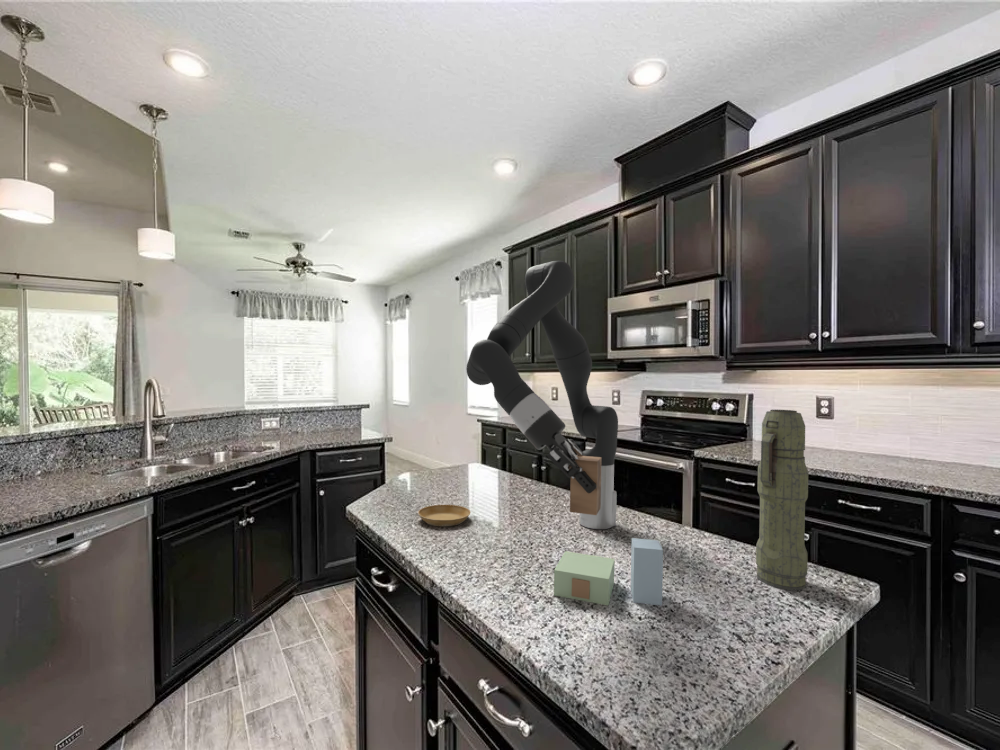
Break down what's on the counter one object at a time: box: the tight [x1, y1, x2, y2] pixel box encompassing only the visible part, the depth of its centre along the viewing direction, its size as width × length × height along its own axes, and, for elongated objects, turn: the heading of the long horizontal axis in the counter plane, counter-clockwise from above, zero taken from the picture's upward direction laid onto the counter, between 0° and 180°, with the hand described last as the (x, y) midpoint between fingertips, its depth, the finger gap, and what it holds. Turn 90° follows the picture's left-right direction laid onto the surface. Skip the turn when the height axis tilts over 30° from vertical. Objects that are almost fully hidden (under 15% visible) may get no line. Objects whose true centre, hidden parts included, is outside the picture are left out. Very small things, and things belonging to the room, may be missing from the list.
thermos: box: [755, 409, 809, 591], centre depth 93 cm, size 9×12×35 cm
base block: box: [553, 550, 615, 606], centre depth 87 cm, size 10×10×5 cm
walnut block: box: [569, 455, 602, 515], centre depth 87 cm, size 5×5×10 cm
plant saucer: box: [417, 504, 471, 527], centre depth 128 cm, size 15×15×3 cm
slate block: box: [630, 537, 664, 606], centre depth 84 cm, size 5×5×10 cm
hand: (595, 486), depth 86 cm, fingers closed on walnut block, 5 cm apart
